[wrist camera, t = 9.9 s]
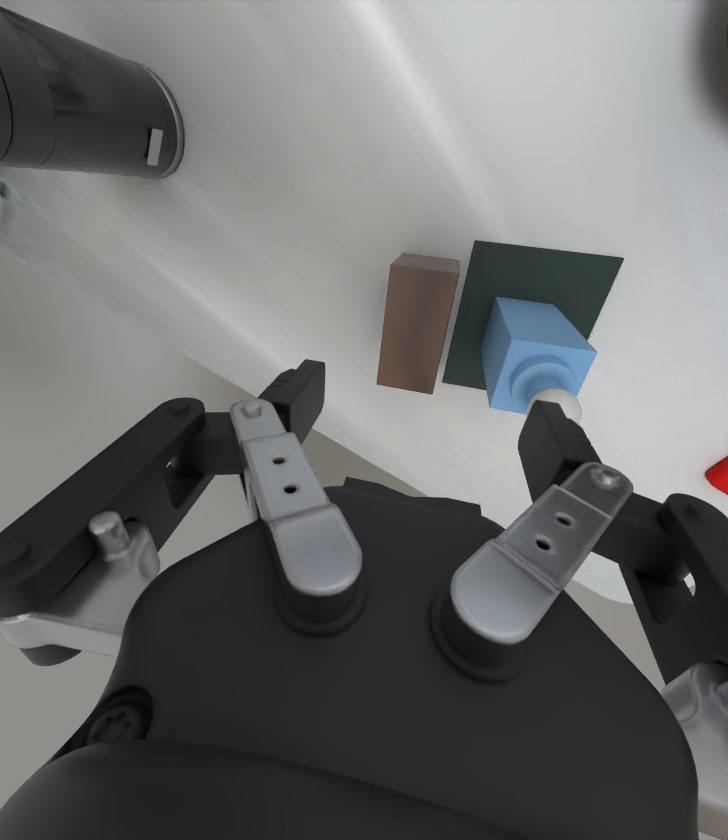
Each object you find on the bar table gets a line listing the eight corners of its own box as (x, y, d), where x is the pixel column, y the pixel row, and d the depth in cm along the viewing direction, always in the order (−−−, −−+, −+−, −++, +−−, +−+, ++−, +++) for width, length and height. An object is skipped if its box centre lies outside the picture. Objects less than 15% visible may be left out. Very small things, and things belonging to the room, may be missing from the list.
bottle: (534, 296, 39) (726, 372, 24) (517, 347, 43) (676, 443, 27) (424, 295, 35) (570, 385, 20) (414, 351, 39) (534, 465, 23)
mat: (442, 381, 45) (442, 382, 44) (474, 240, 36) (475, 240, 36) (558, 402, 43) (559, 403, 42) (623, 257, 34) (624, 258, 34)
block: (388, 357, 44) (376, 384, 38) (402, 253, 38) (390, 264, 31) (436, 365, 44) (432, 394, 37) (458, 260, 37) (458, 273, 30)
